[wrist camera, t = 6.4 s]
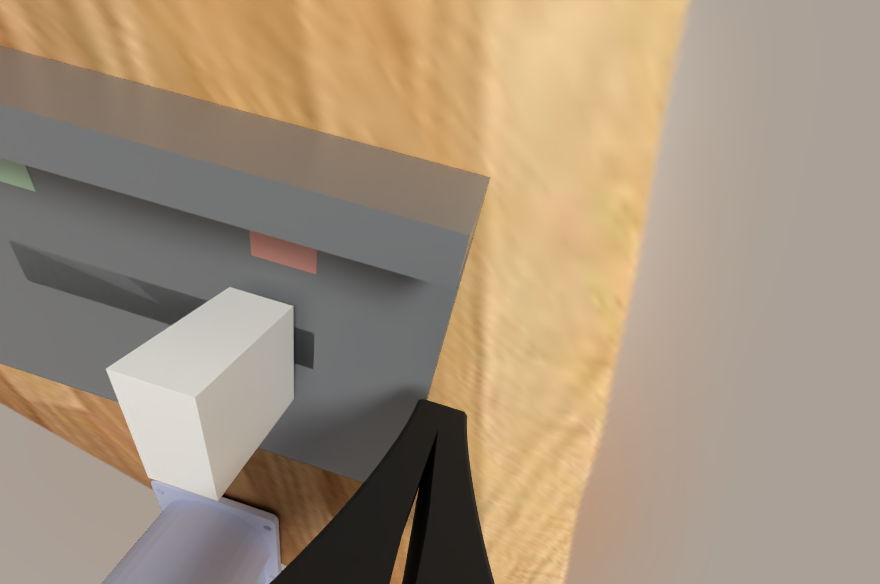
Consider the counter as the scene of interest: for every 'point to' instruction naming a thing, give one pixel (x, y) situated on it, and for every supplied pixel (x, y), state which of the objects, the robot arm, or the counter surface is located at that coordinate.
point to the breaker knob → (208, 390)
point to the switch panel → (224, 247)
